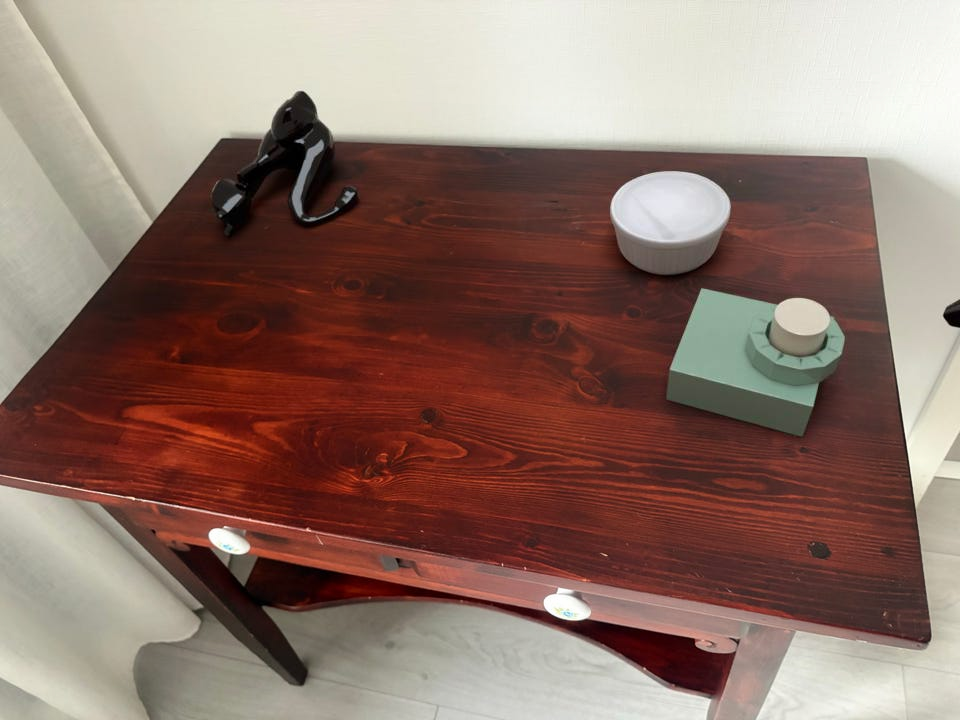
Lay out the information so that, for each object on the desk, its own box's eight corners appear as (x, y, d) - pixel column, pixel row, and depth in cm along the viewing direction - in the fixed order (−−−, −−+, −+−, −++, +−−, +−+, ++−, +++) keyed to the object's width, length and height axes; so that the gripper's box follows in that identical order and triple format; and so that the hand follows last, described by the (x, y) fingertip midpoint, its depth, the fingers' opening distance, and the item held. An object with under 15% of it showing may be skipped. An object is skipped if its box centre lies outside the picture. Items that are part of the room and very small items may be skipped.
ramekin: (589, 261, 76) (589, 220, 72) (641, 200, 81) (643, 159, 78) (693, 298, 71) (699, 256, 67) (741, 230, 76) (749, 187, 73)
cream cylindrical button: (826, 327, 60) (834, 304, 58) (817, 363, 57) (825, 340, 55) (774, 315, 61) (779, 292, 59) (763, 350, 59) (769, 327, 57)
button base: (835, 351, 65) (853, 302, 60) (815, 441, 59) (833, 393, 55) (696, 319, 69) (703, 270, 65) (665, 399, 64) (671, 352, 59)
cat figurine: (391, 185, 93) (301, 292, 87) (301, 135, 95) (208, 235, 89) (386, 131, 84) (285, 246, 78) (287, 77, 86) (181, 184, 80)
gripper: (1216, 19, 40) (922, 148, 53) (1174, 219, 30) (831, 315, 44) (1306, 183, 42) (1002, 268, 55) (1291, 415, 33) (932, 450, 46)
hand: (947, 317), depth 50 cm, fingers closed
